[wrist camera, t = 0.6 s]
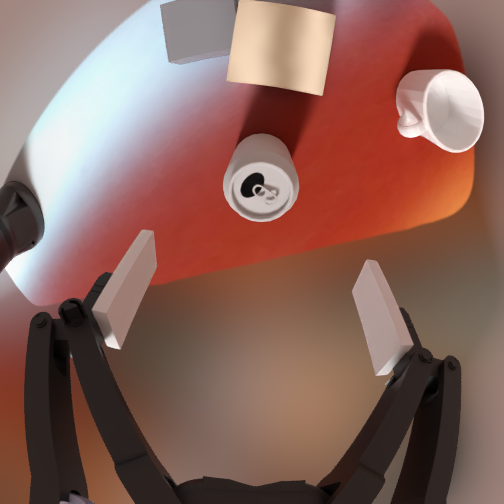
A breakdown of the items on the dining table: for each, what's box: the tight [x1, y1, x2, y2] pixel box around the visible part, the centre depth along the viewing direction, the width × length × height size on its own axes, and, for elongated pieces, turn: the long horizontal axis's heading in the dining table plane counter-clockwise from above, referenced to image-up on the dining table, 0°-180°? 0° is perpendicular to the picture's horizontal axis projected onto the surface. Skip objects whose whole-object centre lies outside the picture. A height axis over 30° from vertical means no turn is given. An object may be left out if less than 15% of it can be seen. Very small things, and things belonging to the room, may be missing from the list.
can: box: [223, 133, 299, 222], centre depth 30 cm, size 8×8×12 cm
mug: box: [396, 69, 484, 153], centre depth 25 cm, size 13×10×8 cm
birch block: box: [227, 0, 336, 96], centre depth 23 cm, size 10×10×6 cm
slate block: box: [160, 0, 237, 65], centre depth 22 cm, size 8×8×5 cm
